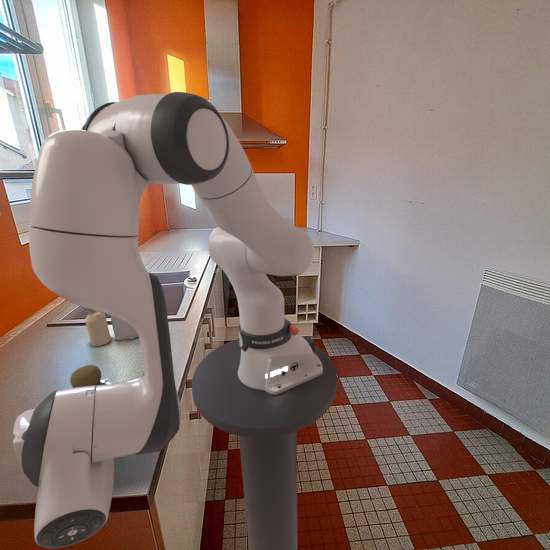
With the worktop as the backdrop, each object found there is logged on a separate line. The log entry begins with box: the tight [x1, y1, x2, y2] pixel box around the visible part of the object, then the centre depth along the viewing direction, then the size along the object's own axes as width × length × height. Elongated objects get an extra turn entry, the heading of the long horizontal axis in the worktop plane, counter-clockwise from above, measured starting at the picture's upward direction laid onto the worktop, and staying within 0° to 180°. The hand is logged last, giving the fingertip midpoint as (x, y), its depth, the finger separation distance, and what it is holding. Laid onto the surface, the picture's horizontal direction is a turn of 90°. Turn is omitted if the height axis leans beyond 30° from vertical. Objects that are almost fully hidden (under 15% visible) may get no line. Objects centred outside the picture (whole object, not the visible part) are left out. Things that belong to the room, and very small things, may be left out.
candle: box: [84, 311, 112, 347], centre depth 94 cm, size 6×6×10 cm
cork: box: [69, 364, 102, 388], centre depth 60 cm, size 6×6×11 cm
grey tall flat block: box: [110, 315, 139, 341], centre depth 95 cm, size 11×4×22 cm, turn 111°
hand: (89, 385), depth 61 cm, fingers closed on cork, 4 cm apart
